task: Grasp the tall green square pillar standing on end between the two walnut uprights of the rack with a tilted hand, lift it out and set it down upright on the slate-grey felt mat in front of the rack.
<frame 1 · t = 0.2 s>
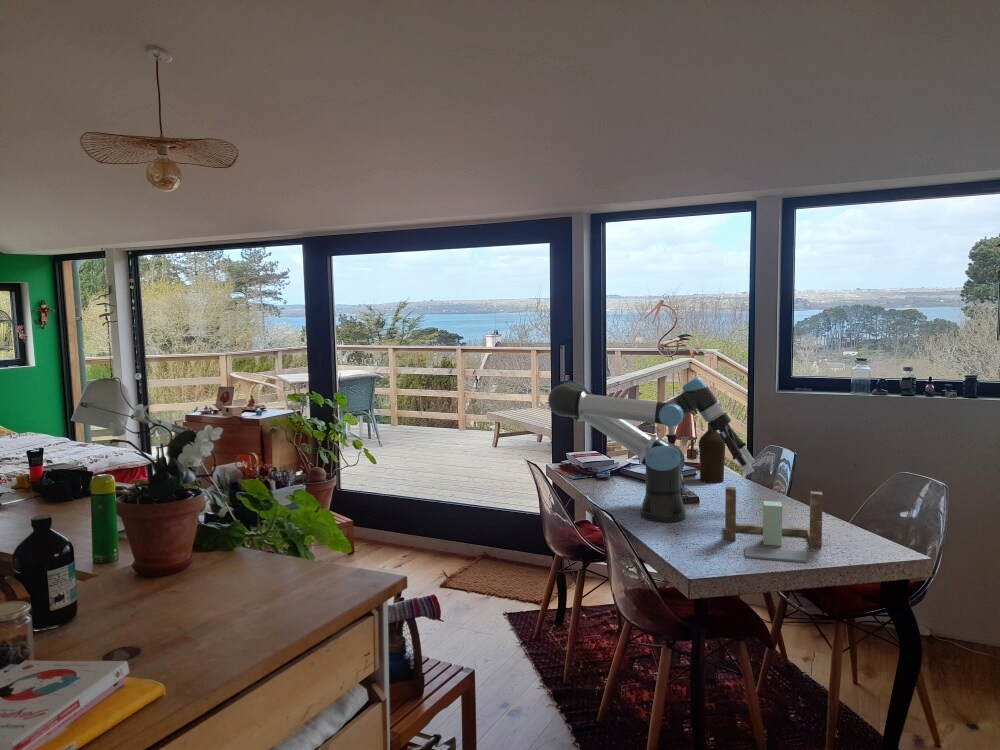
hand: (751, 468, 239), 16 cm above the table, tool tilted 35°, fingers open, 13 cm apart
rack: (772, 542, 208), on the table
tall green square pillar: (772, 542, 208), on the table
olive oil: (711, 480, 288), on the table
mat: (774, 555, 197), on the table
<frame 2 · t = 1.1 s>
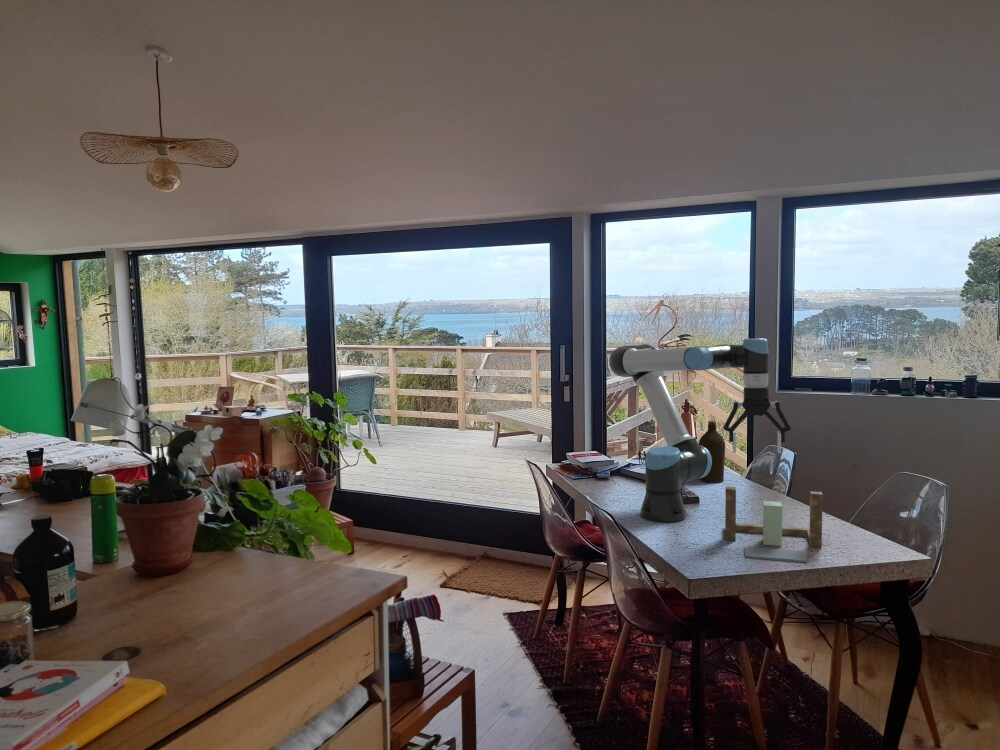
hand: (756, 452, 221), 25 cm above the table, tool pointing down, fingers open, 13 cm apart
nothing on the table moved.
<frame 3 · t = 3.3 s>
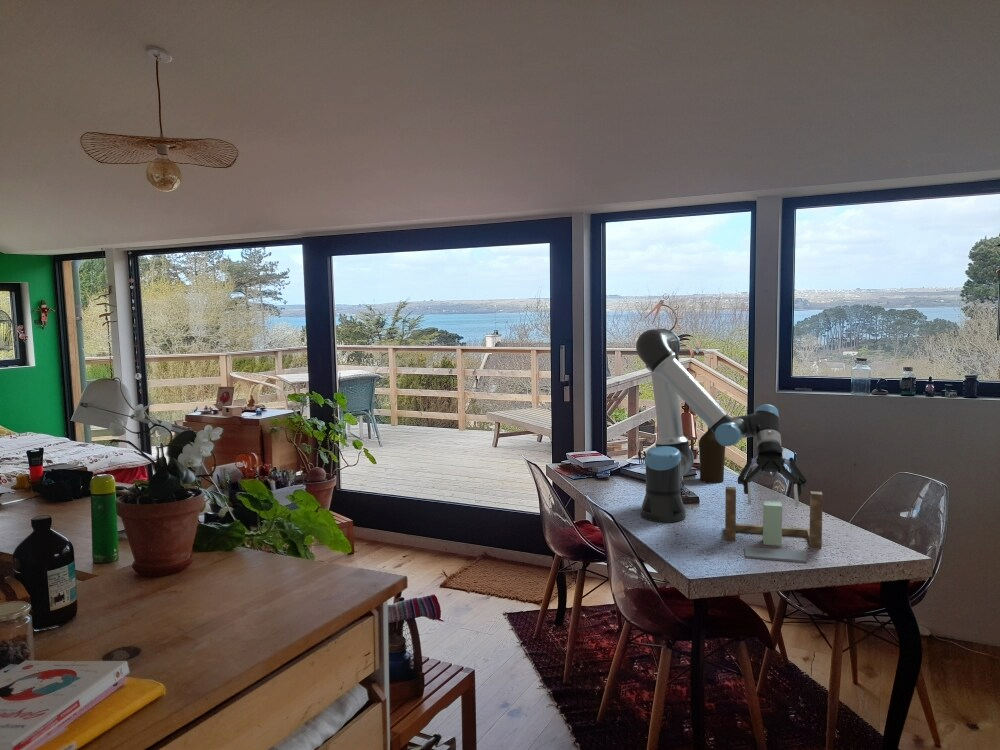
hand: (773, 503, 211), 11 cm above the table, tool tilted 45°, fingers open, 13 cm apart
nothing on the table moved.
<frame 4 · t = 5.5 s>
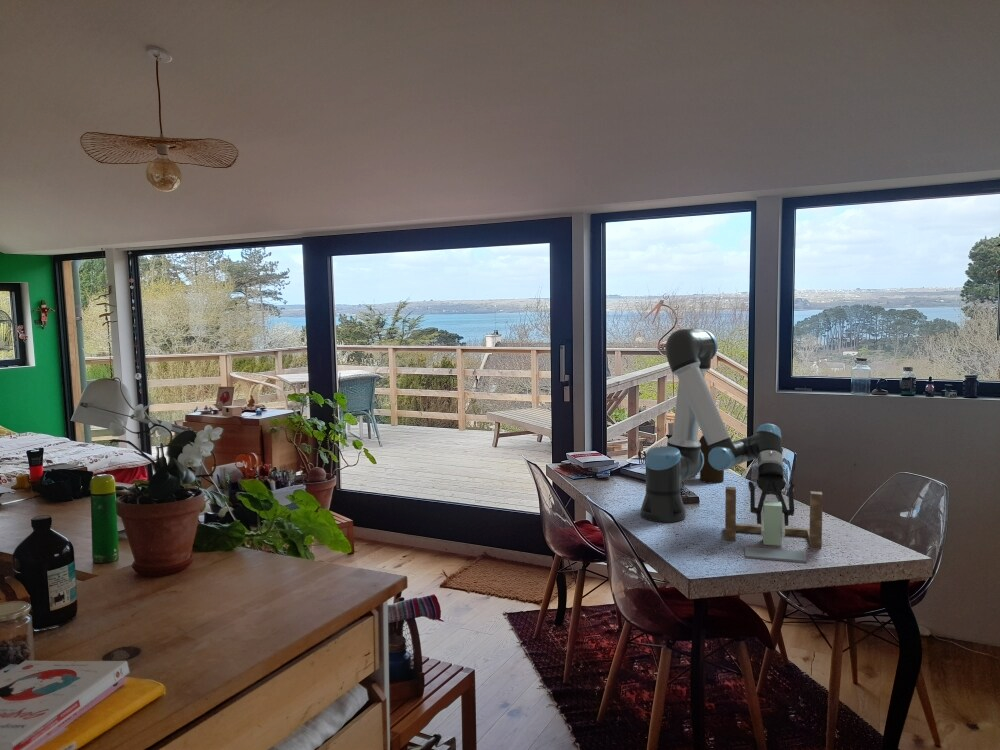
hand: (773, 533, 204), 4 cm above the table, tool tilted 45°, fingers closed on tall green square pillar, 5 cm apart
tall green square pillar: (772, 542, 208), on the table, touching gripper
everything else where it was.
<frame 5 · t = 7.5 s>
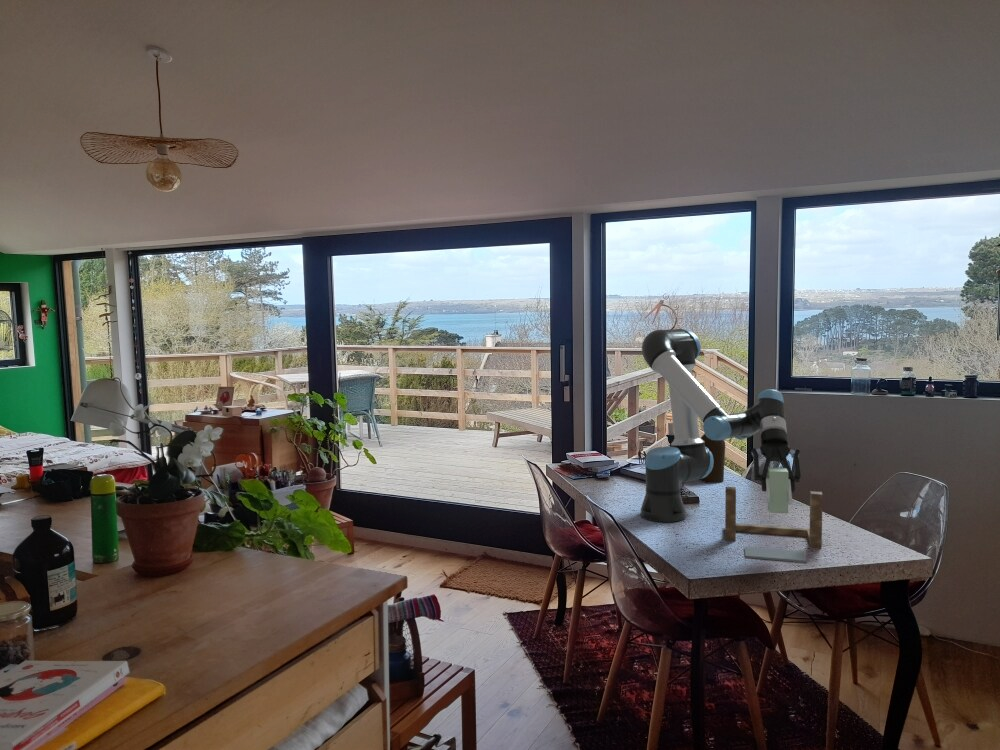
hand: (779, 500, 194), 16 cm above the table, tool tilted 45°, fingers closed on tall green square pillar, 5 cm apart
tall green square pillar: (777, 510, 198), point 12 cm above the table, touching gripper
everything else where it was.
when the fingers open (6 cm above the table, at t = 9.9 s): tall green square pillar drops 1 cm, resting on mat.
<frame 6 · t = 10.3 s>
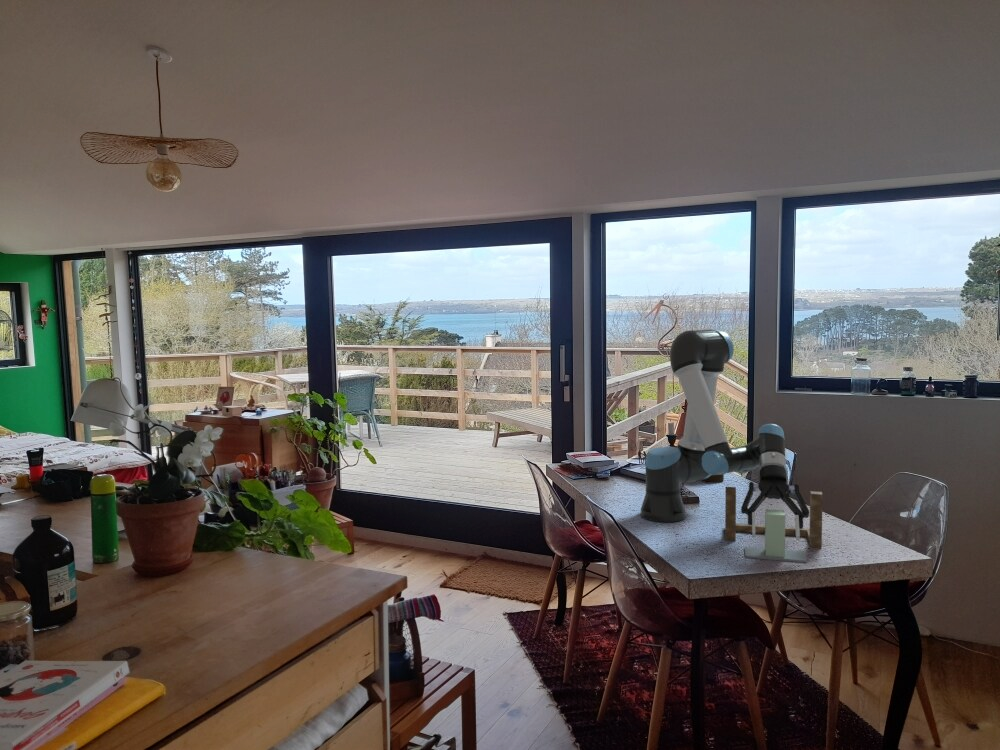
hand: (775, 536, 193), 6 cm above the table, tool tilted 45°, fingers open, 11 cm apart
tall green square pillar: (774, 553, 197), point 1 cm above the table, touching mat
everything else where it was.
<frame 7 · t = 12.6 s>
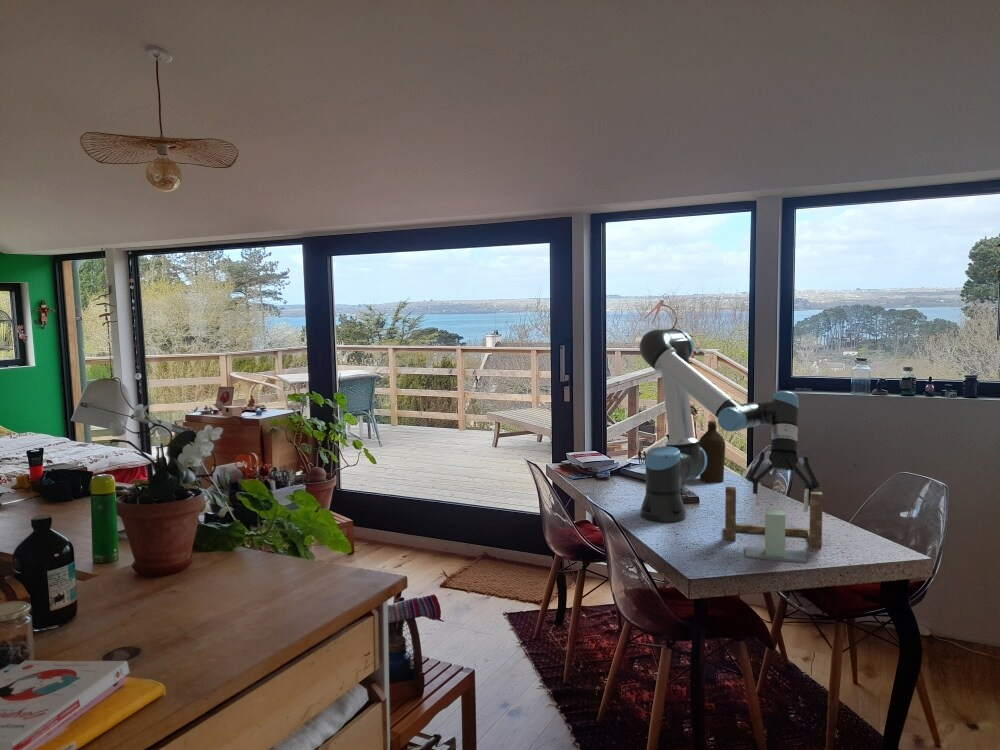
hand: (781, 508, 207), 11 cm above the table, tool tilted 25°, fingers open, 13 cm apart
nothing on the table moved.
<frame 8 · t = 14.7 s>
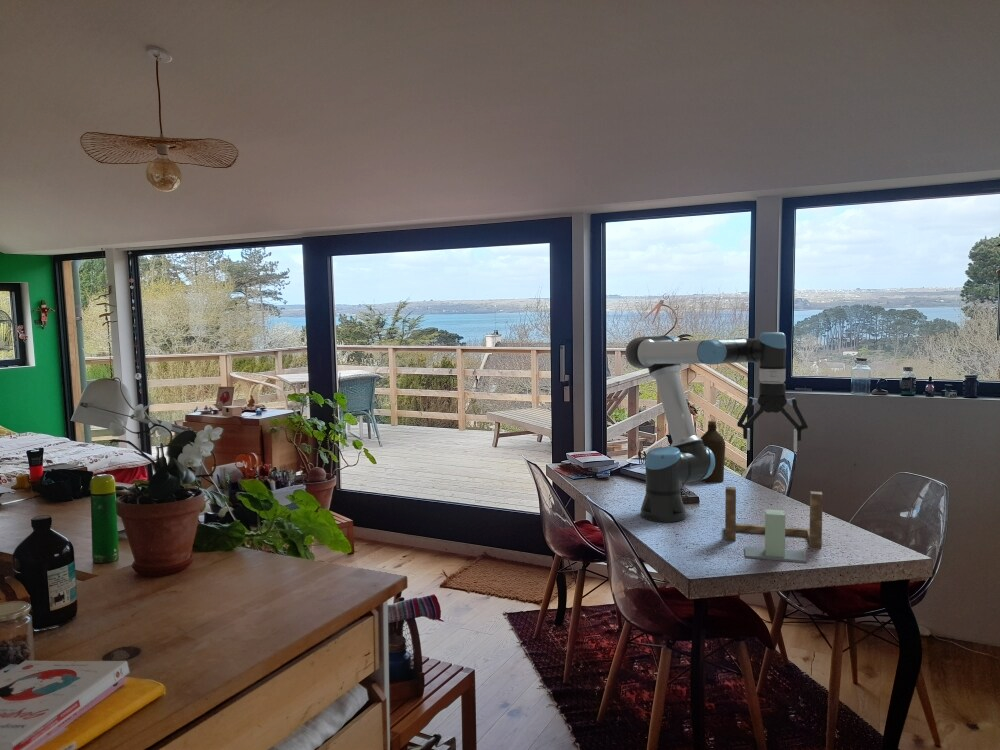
hand: (771, 450, 213), 27 cm above the table, tool pointing down, fingers open, 13 cm apart
nothing on the table moved.
at the end: tall green square pillar inside the target area on the mat (0.1 cm from its centre), point 0.6 cm above the mat's base; tall green square pillar tilted 0°; the gripper is holding nothing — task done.
